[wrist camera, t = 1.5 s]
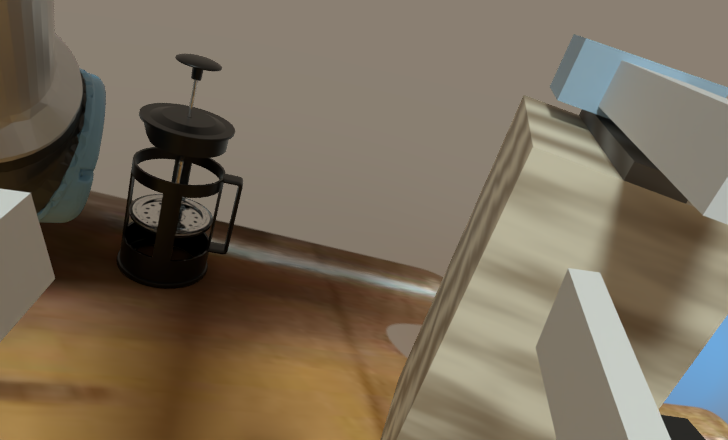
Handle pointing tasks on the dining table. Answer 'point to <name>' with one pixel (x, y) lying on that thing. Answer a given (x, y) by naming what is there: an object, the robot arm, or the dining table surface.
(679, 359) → the patterned tall box
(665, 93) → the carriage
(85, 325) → the dining table surface
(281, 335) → the dining table surface
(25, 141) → the robot arm
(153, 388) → the dining table surface
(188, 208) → the french press
